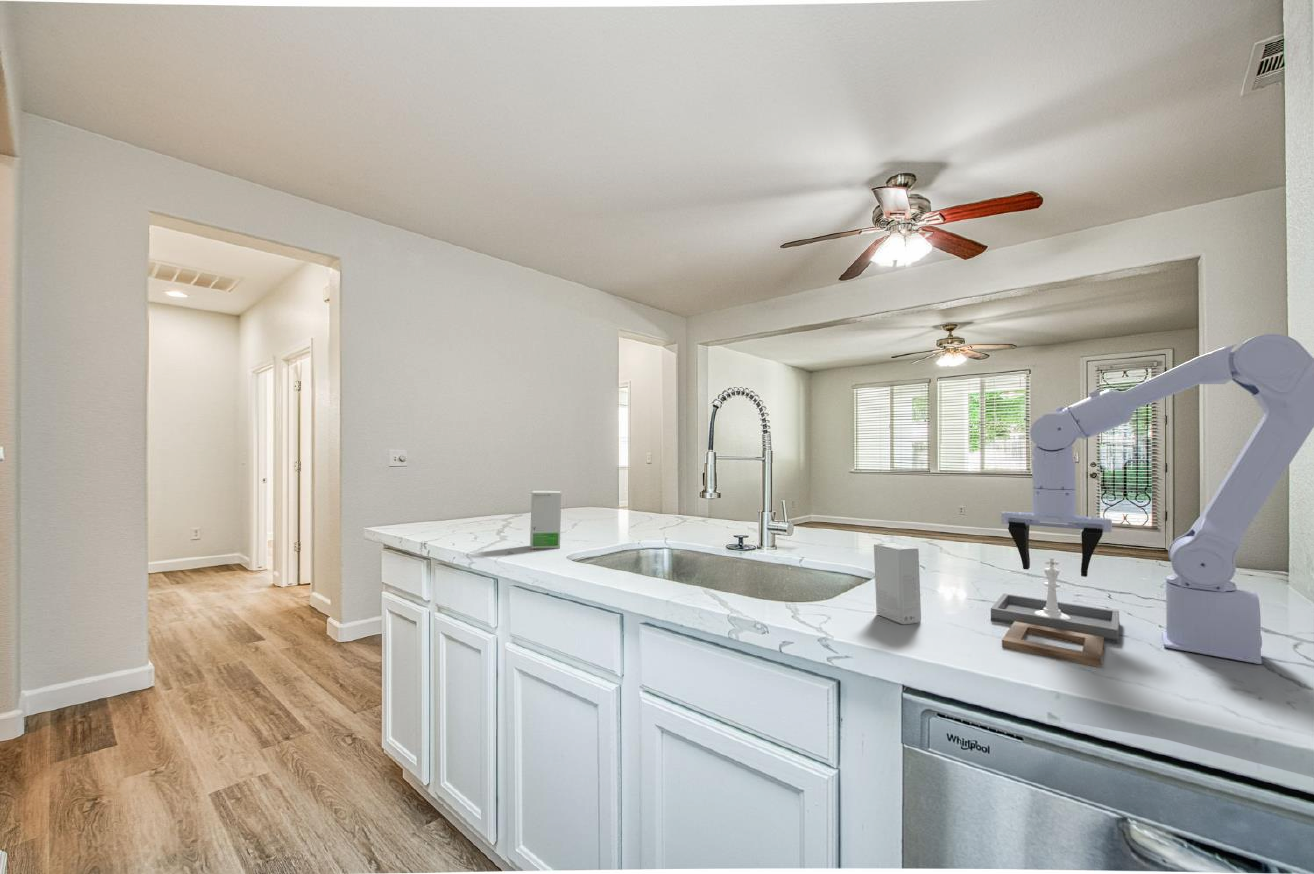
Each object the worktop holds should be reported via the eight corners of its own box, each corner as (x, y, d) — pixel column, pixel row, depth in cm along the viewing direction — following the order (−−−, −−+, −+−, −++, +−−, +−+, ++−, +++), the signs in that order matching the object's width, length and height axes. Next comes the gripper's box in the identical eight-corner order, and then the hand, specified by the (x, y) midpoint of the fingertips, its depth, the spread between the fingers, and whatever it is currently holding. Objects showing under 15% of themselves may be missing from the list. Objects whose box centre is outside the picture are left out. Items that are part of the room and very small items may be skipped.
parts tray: (1119, 623, 89) (1119, 611, 89) (1117, 643, 80) (1117, 630, 80) (1003, 604, 100) (1003, 593, 100) (990, 620, 90) (990, 608, 90)
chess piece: (1074, 626, 86) (1074, 562, 86) (1037, 622, 88) (1036, 559, 88) (1066, 617, 90) (1066, 556, 90) (1030, 613, 92) (1030, 553, 92)
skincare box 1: (530, 549, 150) (530, 492, 150) (530, 545, 157) (530, 490, 157) (561, 548, 152) (561, 491, 152) (559, 544, 159) (560, 489, 159)
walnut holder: (1104, 644, 80) (1103, 637, 80) (1100, 667, 72) (1100, 659, 72) (1014, 627, 87) (1014, 621, 87) (1001, 646, 79) (1001, 639, 79)
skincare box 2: (922, 622, 89) (922, 547, 90) (900, 625, 88) (900, 549, 88) (894, 611, 95) (893, 541, 95) (873, 614, 94) (872, 543, 94)
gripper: (997, 487, 92) (998, 569, 92) (1110, 492, 82) (1111, 583, 82) (1005, 485, 97) (1005, 562, 97) (1111, 489, 88) (1112, 575, 87)
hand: (1054, 571), depth 90 cm, fingers open, 7 cm apart
